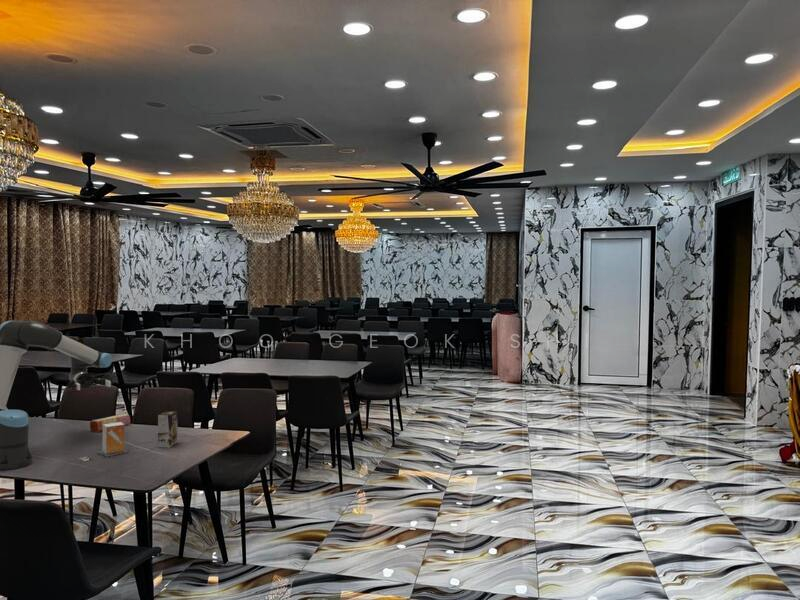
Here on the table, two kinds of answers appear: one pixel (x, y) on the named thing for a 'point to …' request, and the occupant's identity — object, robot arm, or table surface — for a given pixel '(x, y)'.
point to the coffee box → (167, 429)
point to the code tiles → (84, 458)
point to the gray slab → (111, 453)
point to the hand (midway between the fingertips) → (94, 385)
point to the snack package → (98, 424)
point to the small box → (113, 438)
